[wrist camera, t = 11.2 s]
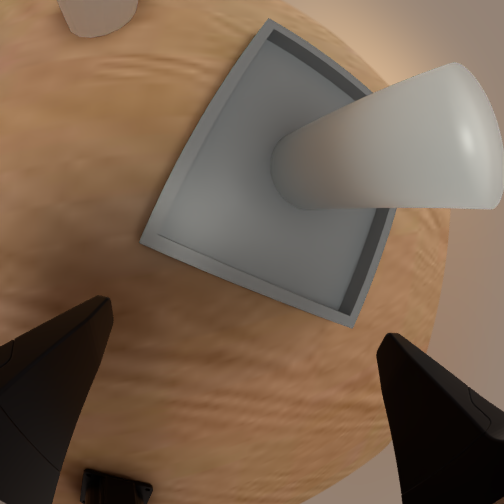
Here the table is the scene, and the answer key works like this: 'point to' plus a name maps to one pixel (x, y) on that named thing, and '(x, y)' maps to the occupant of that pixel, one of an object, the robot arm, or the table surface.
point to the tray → (269, 187)
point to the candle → (398, 149)
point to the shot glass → (97, 15)
